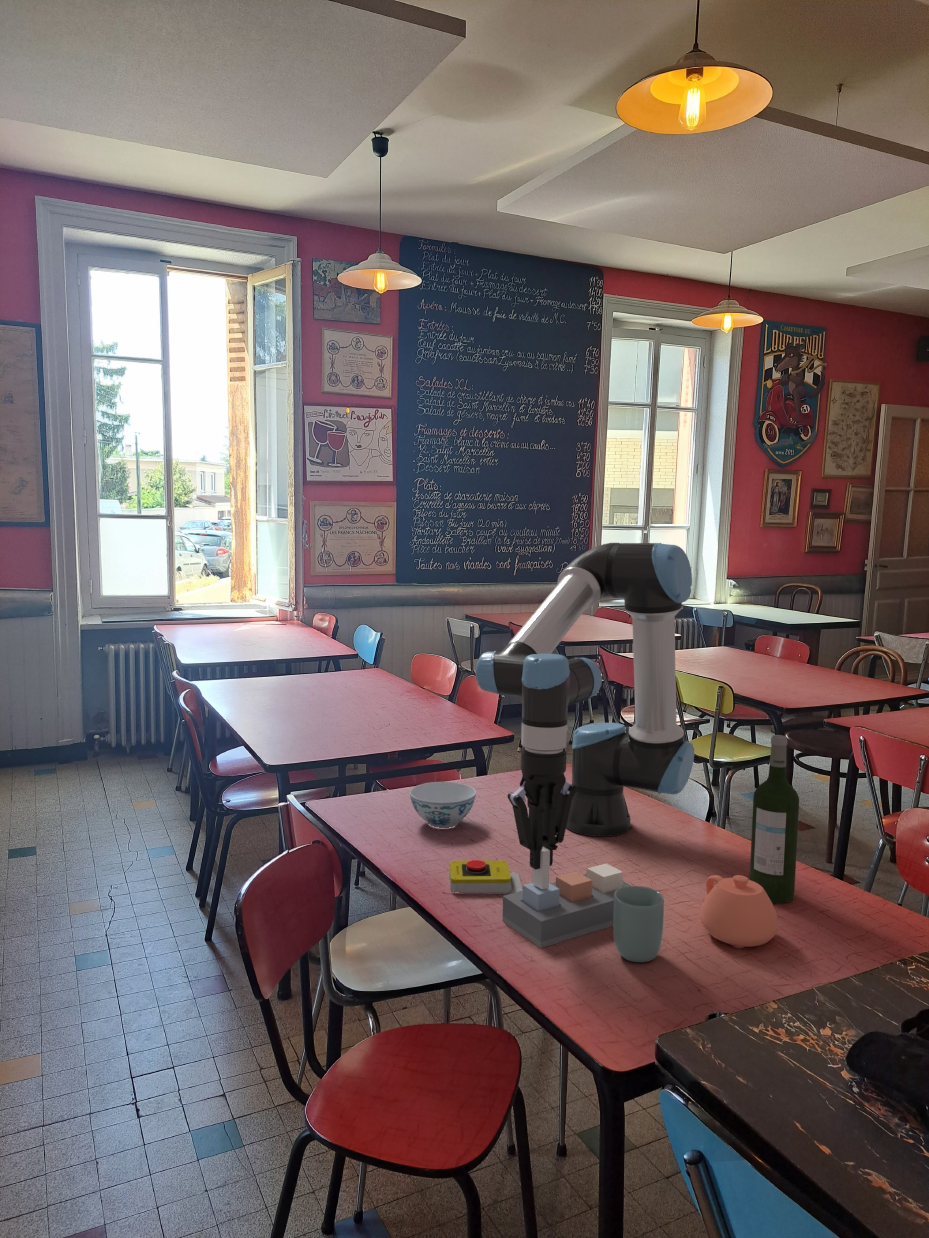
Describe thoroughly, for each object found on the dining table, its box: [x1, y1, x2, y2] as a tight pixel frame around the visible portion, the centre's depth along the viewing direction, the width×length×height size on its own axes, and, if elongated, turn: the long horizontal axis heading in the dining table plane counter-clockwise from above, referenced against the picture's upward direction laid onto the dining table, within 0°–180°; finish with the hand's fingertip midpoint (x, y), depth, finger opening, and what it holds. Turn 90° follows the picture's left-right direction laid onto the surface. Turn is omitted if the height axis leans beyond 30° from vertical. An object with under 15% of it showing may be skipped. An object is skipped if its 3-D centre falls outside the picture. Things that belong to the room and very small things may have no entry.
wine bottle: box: [749, 734, 800, 905], centre depth 158 cm, size 8×8×30 cm
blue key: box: [522, 882, 560, 912], centre depth 145 cm, size 4×4×4 cm
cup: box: [612, 885, 665, 963], centre depth 136 cm, size 8×8×10 cm
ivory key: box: [586, 863, 624, 894], centre depth 152 cm, size 4×4×4 cm
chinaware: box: [409, 781, 477, 828], centre depth 195 cm, size 15×15×8 cm
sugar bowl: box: [700, 874, 779, 949], centre depth 143 cm, size 12×14×10 cm
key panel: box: [502, 873, 632, 949], centre depth 149 cm, size 22×11×4 cm, turn 121°
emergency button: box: [448, 859, 523, 895], centre depth 163 cm, size 9×4×15 cm
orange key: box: [555, 871, 592, 903], centre depth 148 cm, size 4×4×4 cm
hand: (540, 885), depth 144 cm, fingers closed
